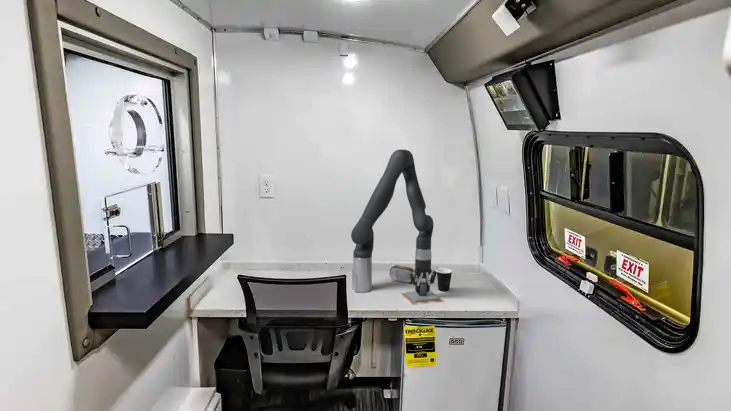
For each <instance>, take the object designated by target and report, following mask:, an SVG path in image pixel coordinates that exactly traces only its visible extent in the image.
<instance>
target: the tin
mask: <svg viewBox="0 0 731 411" xmlns="http://www.w3.org/2000/svg"><path fill="white" fill-rule="evenodd" d="M414 270H415V269H413V268H412V267H410V266H404V265H397V264H394V265H393V266H392V267H390V269H389V277H390V278H391V279H392V281H395V282H399V283H404V284H412V283H411V280H410V276H409V272H414ZM414 279H415V280H416V274H415V276H414Z"/></svg>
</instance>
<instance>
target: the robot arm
mask: <svg viewBox="0 0 731 411" xmlns="http://www.w3.org/2000/svg"><path fill="white" fill-rule="evenodd" d="M416 170H417V169H416V165H415V159H414V156H413V154H412V152H411V151H410V150H408V149H396V150H395V151H393V153H392V154H391V155H390V157H389V159H388V162H387V165H386V167H385V170H384V172H383V174H382V176H381V177H380V179H379V181H378V183H377V185H376V187H375V189H374V190H373V192H372V194H371V195H370V198H369V200H368V201H367V204H366V206H365V208H364V210H363V213H362V214H361V216H360V218H359V219H358V221H357V222H356V224H355V226H354V227H353V228H352V230H351V234H350V236H351V237H350V238H351V240H352V242H353V244H355V247H354V250H353V252H352V253H353V260H352V261H353V263H352V266H353V267H352V268H353V269H352V271H351V281H352V282H351V284H352V285H351V288H352V290H353V291H354V292H355V293H369V292H371V291H372V290H373V289H372V288H373V285H372V282H373V280H372V279H373V276H372V275H373V273H372V272H373V269H372V268H373V251H374V243H375V242H374V240H375V235H374V228H373V226H374V225H375V223H376V222H377V220H378V219H379V218H380V217H381V216H382V215H383V213H384V212H385V211H386V209H387V208H388V206H389V205H390V202H391V200H392V199H393V196H394V194H395V189H396V184H397V182H398V179H399V178H400V176H401V175H403V178H404V183H405V189H406V191H405V192H406V196H407V200H408V203H409V204H408V205H409V206H410V209H411V215H412V221H413V225H414V228H415V229H416V230H417V231H418V235H417V236H416V239H415V253H414V254H415V256H414V258H415V260H414V269H413V270H414V272H409V276H410V280H411V283H410V284H412V285H413V286H415V288H414V289H415V290H414V291H416V292H417V293H418V294H419V290H420V286H419V284H420V282H422V280H425V282H427V293H429V291H431V285H432V284H434V283H435V280H436V279H437V278H436V277H437V271H436V270H432V257H433V256H432V236H433V232H434V219H433V218H432V215H431V216H430V215H429V214H427V213H426V208H427V205H426V202H425V199H424V195H423V193H422V189H421V186H420V183H419V180H418V175H417V171H416ZM415 274H416V279H414V276H415Z"/></svg>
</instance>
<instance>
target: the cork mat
mask: <svg viewBox="0 0 731 411" xmlns="http://www.w3.org/2000/svg"><path fill="white" fill-rule="evenodd" d="M430 291H431V290H430ZM431 292H432V293H433V294H435V295H436V296H437V297H439V301H429V302H419V303H415V302H414V301H413V300H412V299H411V298H409V297H408V296H407V295H406V292H405V293H404V292H403V293H400V295H401V296H403V297H404V298H405V299H406V300H407V301H409V303H410V304H411V305H412V306H414V305H424V304H432V303H433V304H435V303H444V302H445V303H446V301H445V300H444V299H443V298H441V297H440V296H438V295H437V294H436V292H433V291H431Z"/></svg>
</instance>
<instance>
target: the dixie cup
mask: <svg viewBox="0 0 731 411" xmlns="http://www.w3.org/2000/svg"><path fill="white" fill-rule="evenodd" d="M435 271H436V272H437V274H436V277H437V278H436V279H437V280H436V281H437V288H438V289H437V290H438V292H439V293H442V294H444V293H449V291H450V287H451V279H452V273H453V270H452V269H451V268H446V267H445V268H437V269H436V270H435Z"/></svg>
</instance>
